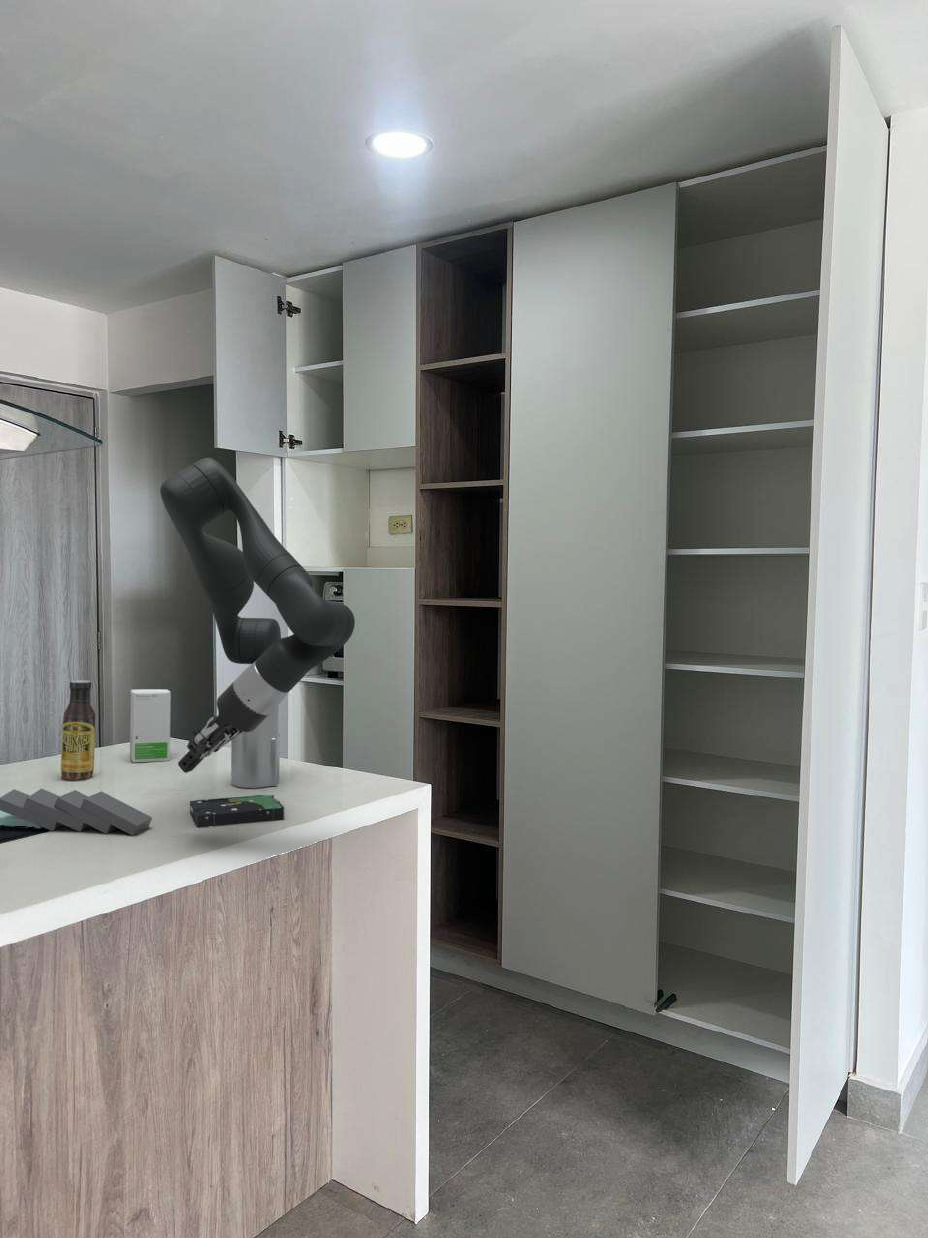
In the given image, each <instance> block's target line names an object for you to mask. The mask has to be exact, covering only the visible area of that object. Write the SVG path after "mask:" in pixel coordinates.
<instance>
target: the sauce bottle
mask: <svg viewBox="0 0 928 1238" xmlns="http://www.w3.org/2000/svg"><path fill="white" fill-rule="evenodd" d="M68 688H69V693H70V694H69V703H68V704H67V707H66V709H65V710H64V712H63V718H62V728H61V749H60V750H61V755H60V770H61V771H60V777H61V778H62V779H64V780H67V781H83V780H88V779H90V778H92V777H93V775H94V770H95V746H96V744H95V743H96V712H95V711H94V709H93V707H92V705H91V688H92V680H84V679H76V680H70V681H69V687H68Z"/></svg>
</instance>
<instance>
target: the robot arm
mask: <svg viewBox="0 0 928 1238" xmlns="http://www.w3.org/2000/svg"><path fill="white" fill-rule="evenodd" d="M159 492H160V497H161V501H162V502H163V506H164V507H165V509H166V512H167V513H168V516H169V518H170V520H171V522H172V524H173V525H174V527H175V529H176V531H177V533H178V535H179V537H180V538H181V539H180V540H182V542H183V544H184V547H185V548H186V550H187V552H188V556H189V558H190V561H191V563H192V566H193V568H194V571H195V574H196V578H197V579H198V583H199V584H200V587H201V589H202V592H203V594H204V596H205V598H206V600H207V603H208V604H209V607H210V610H211V612H212V615H213V618H214V620H215V623H216V627H217V629H218V634H219V635H218V636H219V637H220V638H219V639H220V641H221V645H222V649H223V652H224V654H225V656H226V658H227V660H229V661H230V662H231V663H234V664H239V665H249V666H248V667H246V668H245V669H244V670H243V671H242V672H241V674H240V675H238V676H237V677H236V679H234V681H233V682H231V684H230V685H229V686H228V687H227V688H226V689H225V690H224V691H223V692H222V693H221V694H220V695H219V696H218V698H217V700H216V707H217V711H218V715H213V716H211V717H210V718H209V719H208V721H206V725H205V726H204V727H203V728H202V730H201V731H200V729H199V728H197V729H194V730H193V732H192V733H191V735H190V738H189V741H188V743H187V746H186V748H187V750H188V751H187V753H186V754H184V756H182V758H181V759H179V761H178V762H177V765H178V767H179V768H180V769H181V770H182V772H183V773H185V774H187V773H190V772H193V771H194V769H196V767H197V766H198V765H199V764H200V763H201V762H202V761H203V760H204V759H205V758H208V757H210V756H211V755H212V753H217V752H219V750H221V749H222V748H223V747H225V746H226V745H227V744H228V743H229V742H230V744H231V745H230V747H231V748H230V749H231V750H230V754H231V755H230V757H231V759H230V760H231V762H230V763H231V766H230V776H231V778H230V783H231V785H232V786H233V787H238V788H245V789H246V788H247V789H257V788H265V787H276V786H277V785H278V783H279V781H280V760H281V759H280V757H281V756H280V755H281V752H280V751H281V749H280V746H281V745H280V741H281V740H280V736H281V735H280V733H279V708H280V707H279V705H280V704H281V703H282V702H283V701H284V699H285V697H286V696H287V695H288V694H289V693H290V691H291V690H293V689H294V688H295V686H297V685H298V684H299V682H300V681H301V680H302V679H303V678H304V677H305V676H306V675H307V674H308V672H310V671H311V670H314V668H316V667H318V666H319V665H321V664H322V663H323V662H325V661H326V660H327V659H329V658H330V657H331V656H333V655H334V654H336V653H337V652H338V651H339V650H341V649H342V648H343V647H344V646H345V645H346V644H347V642H348V641H349V639H350V638H351V636H352V635H353V633H354V630H355V625H356V620H355V615H354V613H353V611H352V610H351V608H349V607H348V606H347V605H346V604H343V603H342V602H340V601H339V602H338V601H335V600H328V599H324V598H323V597H321V596H320V595H319V594H318V593H317V592H316V591H315V589H314V588H313V586H314V583H313V578H312V577H311V575H310V574H309V573H308V571H307V570H306V569H305V568H304V567H303V566H302V565H301V564H300V562H299V561H297V559H295V557H294V556H293V555H292V554H291V553H290V552H289V551H288V550H287V549H286V548H285V547H284V546H283V545H282V543H281V541H279V539H278V538H277V537H276V536H275V534H274V533H273V532H272V530H271V528H269V526H268V524H267V523H266V522H265V520H264V519H263V518H262V515H260V514H259V512H258V511H257V509H256V508H255V506H253V503H252V502H251V501H250V500H249V498H248V497H247V495H246V494H245V493H244V491H243V490H242V489H241V487H240V486H239V484H238V483H237V482H236V480H235V479H234V478H233V476H232V475H231V474H230V473H229V472H228V471H227V470H226V468H224V467H223V466H222V464H221V463H219V462H218V461H217V460H216V459H213V458H211V457H204V458H202V459H199V460H197V461H195V462H194V463H192V464H190V465H189V466H187V467H185V468H183V469H182V470H180V471H178V472H177V473H175V474H174V475H172V476H170V477H168V478H167V479H165V481H163V483H161V485H160V489H159ZM228 511H230V512H232V513H233V515H234V517H235V518H236V520H237V523H238V527H239V530H240V531H239V532H240V535H241V538H240V539H241V548H242V549H240V548H239V547H238V546H236V545H234V544H232V543H230V542H228V541H226V540H224V539H220V538H217V537H215V536H212V535H210V534H208V533H207V532H205V531H203V528H204V527H205V526H206V525H208V523H210V522H212V521H214V520H215V519H217V518H218V517H220V516H222V515H223V514H226V513H227V512H228ZM255 584H256V585H257V586H258V587H259V589H261V591H262V592H263V593H264V594H265V595H266V596H267V597H268V598H269V599H270V600H271V602H273V603H274V604H275V606H276V609H277V610H278V612H279V614H280V616H281V617H282V619H283V621H284V622H285V624H286V626H287V627H288V629H289V630H290V631H291V632H292V634H291V635H289V636H287V637H286V636H285V637H282V633H281V627H280V624H279V622H278V621H277V620H276V618H275V619H274V618H270V617H269V618H267V617H266V618H265V617H264V618H262V617H241V616H239V614H240V613H241V611H242V610H243V609H244V607H246V605H247V604H248V602H249V600H250V599H251V597H252V594H253V593H254V589H255Z"/></svg>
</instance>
